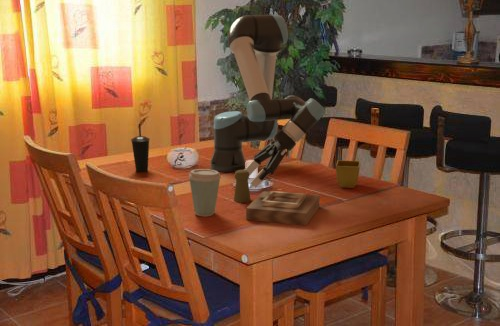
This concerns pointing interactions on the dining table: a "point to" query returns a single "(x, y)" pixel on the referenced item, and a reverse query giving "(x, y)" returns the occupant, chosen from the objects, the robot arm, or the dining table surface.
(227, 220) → the dining table surface
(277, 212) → the walnut stand
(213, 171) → the disposable coffee cup
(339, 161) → the flower pot
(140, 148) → the drinking cup
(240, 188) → the pepper mill
